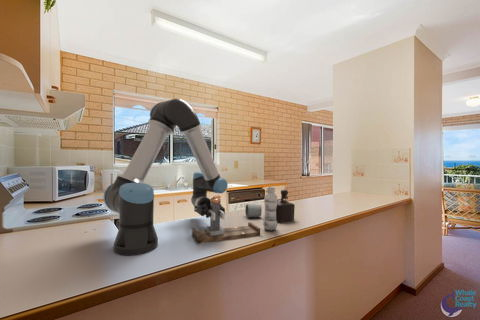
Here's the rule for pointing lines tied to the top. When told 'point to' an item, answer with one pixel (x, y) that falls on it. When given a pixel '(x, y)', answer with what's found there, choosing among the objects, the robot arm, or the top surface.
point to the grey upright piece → (215, 224)
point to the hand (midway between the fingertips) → (219, 216)
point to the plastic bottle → (270, 209)
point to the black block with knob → (284, 208)
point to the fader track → (227, 233)
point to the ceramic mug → (253, 210)
